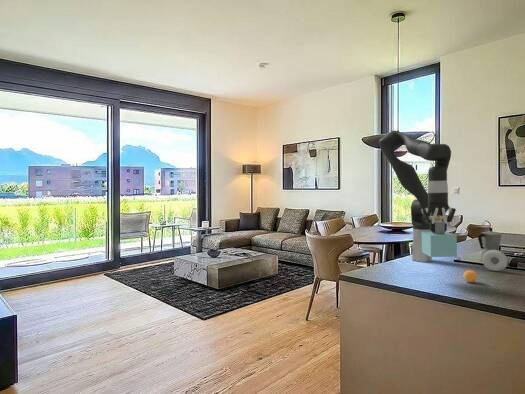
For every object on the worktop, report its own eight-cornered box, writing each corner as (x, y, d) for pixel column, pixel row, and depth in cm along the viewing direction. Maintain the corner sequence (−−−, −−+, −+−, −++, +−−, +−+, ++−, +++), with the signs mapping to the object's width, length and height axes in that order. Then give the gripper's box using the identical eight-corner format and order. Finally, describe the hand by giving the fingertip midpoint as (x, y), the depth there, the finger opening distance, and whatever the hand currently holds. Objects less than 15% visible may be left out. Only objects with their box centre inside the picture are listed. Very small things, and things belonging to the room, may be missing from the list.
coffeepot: (491, 259, 189) (491, 226, 188) (508, 262, 180) (508, 227, 179) (470, 261, 183) (470, 227, 183) (487, 265, 175) (487, 229, 174)
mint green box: (430, 256, 143) (430, 223, 142) (421, 252, 153) (421, 220, 152) (456, 256, 142) (456, 222, 141) (446, 251, 152) (445, 220, 151)
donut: (507, 271, 162) (507, 250, 161) (507, 273, 159) (507, 251, 159) (482, 268, 168) (482, 248, 168) (481, 270, 166) (481, 249, 165)
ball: (480, 281, 145) (469, 286, 145) (473, 273, 149) (462, 278, 150) (478, 273, 143) (467, 278, 143) (470, 266, 147) (459, 271, 148)
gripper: (423, 192, 143) (424, 233, 144) (459, 191, 142) (460, 233, 143) (417, 191, 151) (417, 231, 151) (451, 190, 150) (452, 230, 150)
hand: (438, 232), depth 147 cm, fingers closed on mint green box, 3 cm apart
